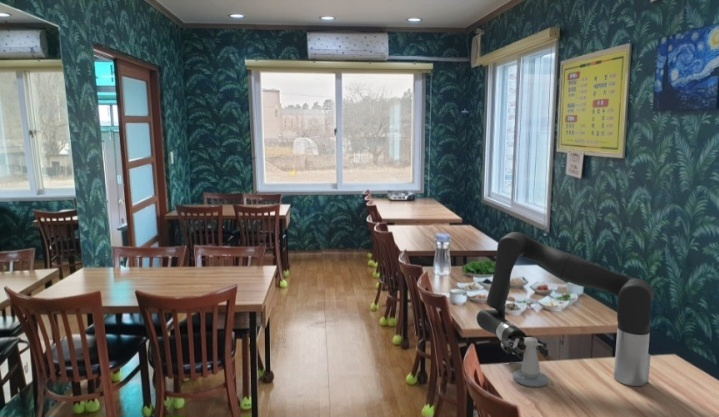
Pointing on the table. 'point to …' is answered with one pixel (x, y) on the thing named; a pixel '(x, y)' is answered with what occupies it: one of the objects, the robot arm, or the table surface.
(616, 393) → the table surface
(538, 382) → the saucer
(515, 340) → the robot arm
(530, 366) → the salt shaker
